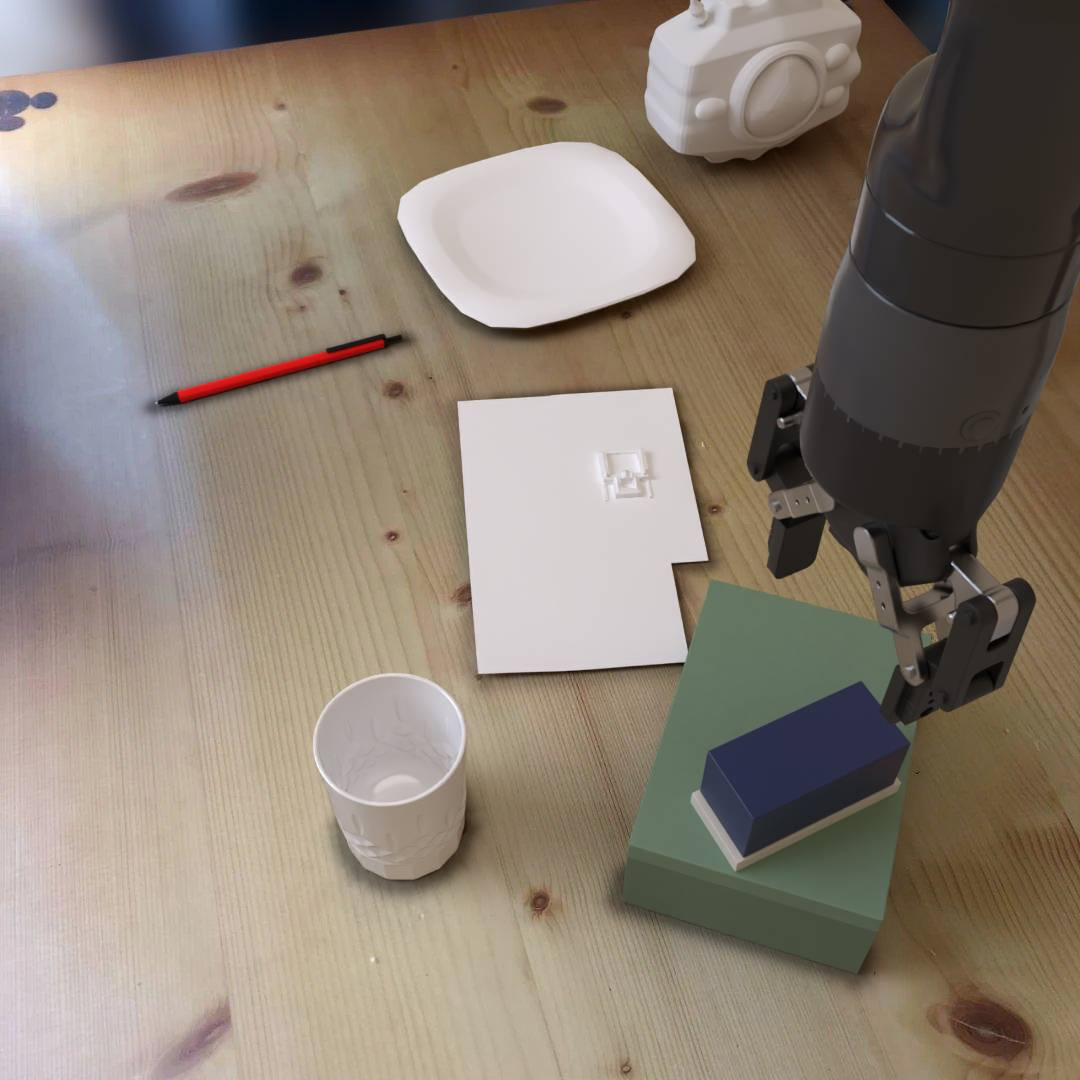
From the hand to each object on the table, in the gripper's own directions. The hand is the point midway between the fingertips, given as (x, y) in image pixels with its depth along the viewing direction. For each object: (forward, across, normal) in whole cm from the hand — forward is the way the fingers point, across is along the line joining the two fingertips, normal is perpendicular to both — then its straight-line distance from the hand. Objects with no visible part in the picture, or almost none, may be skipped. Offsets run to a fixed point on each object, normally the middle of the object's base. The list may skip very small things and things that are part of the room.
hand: (843, 636), depth 57 cm
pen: (+22, +50, +12) cm, 56 cm away
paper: (+21, +27, -2) cm, 34 cm away
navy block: (+14, 0, 0) cm, 14 cm away
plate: (+22, +55, -13) cm, 60 cm away
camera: (+22, +58, -35) cm, 71 cm away
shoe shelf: (+21, +3, -2) cm, 22 cm away
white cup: (+22, +11, +18) cm, 30 cm away
